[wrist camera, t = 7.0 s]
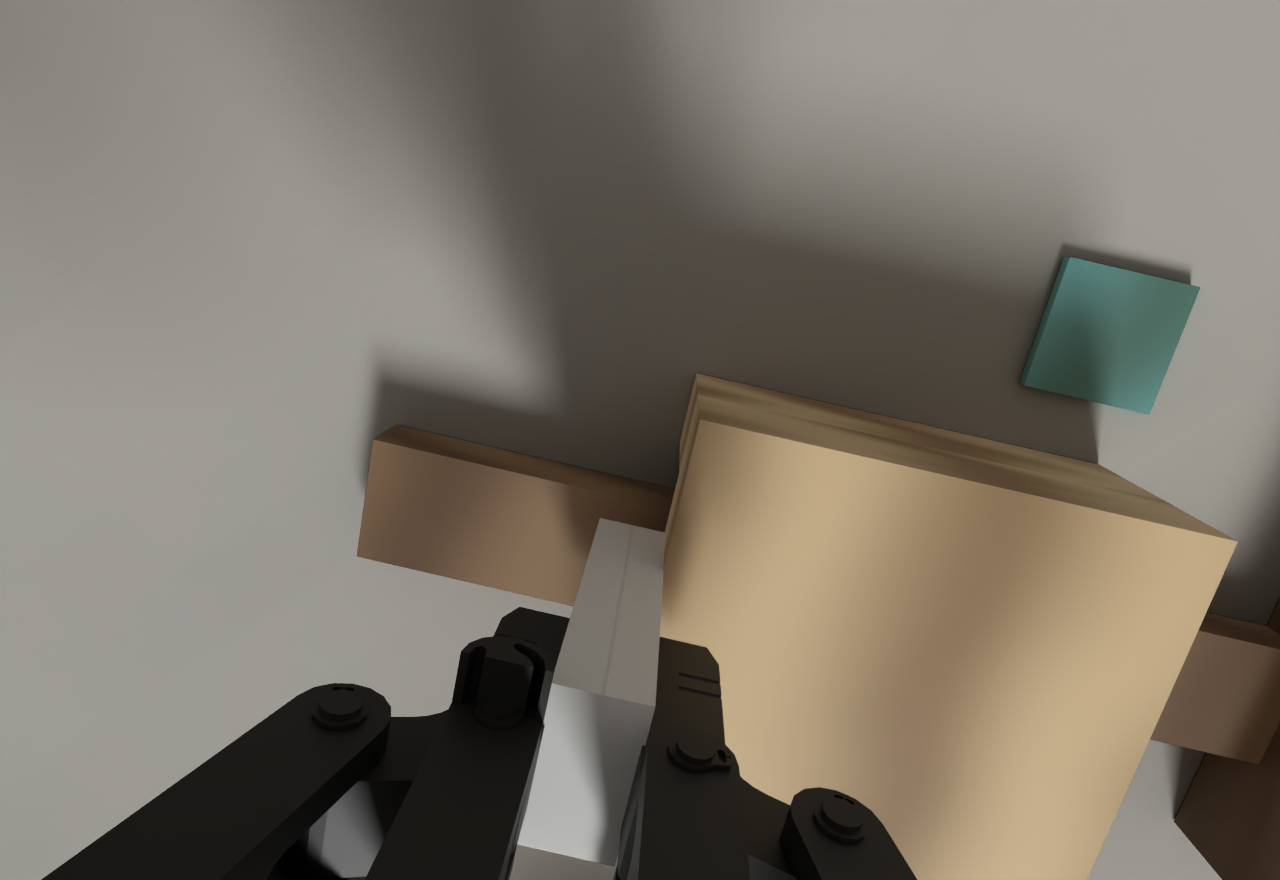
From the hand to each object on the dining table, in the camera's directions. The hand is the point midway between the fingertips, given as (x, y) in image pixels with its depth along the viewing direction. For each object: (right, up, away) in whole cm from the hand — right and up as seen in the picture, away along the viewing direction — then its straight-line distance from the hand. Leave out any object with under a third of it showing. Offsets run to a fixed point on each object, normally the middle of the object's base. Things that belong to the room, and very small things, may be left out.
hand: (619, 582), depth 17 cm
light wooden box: (+6, -1, +3) cm, 6 cm away
